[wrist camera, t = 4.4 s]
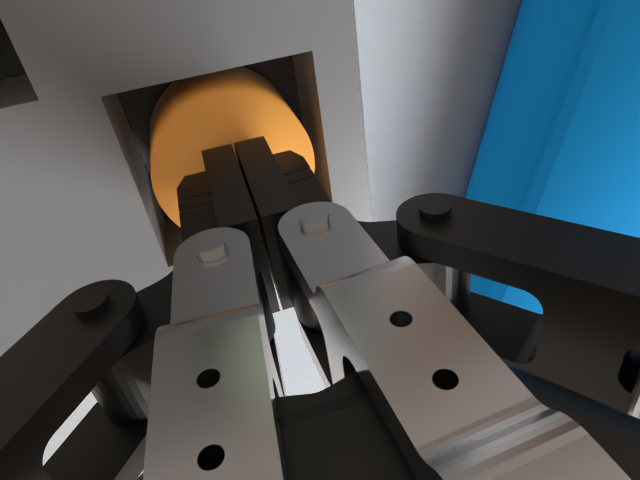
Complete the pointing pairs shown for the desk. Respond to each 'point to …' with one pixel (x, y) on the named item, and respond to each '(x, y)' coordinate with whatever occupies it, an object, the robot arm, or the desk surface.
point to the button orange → (216, 126)
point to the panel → (117, 138)
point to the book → (565, 123)
